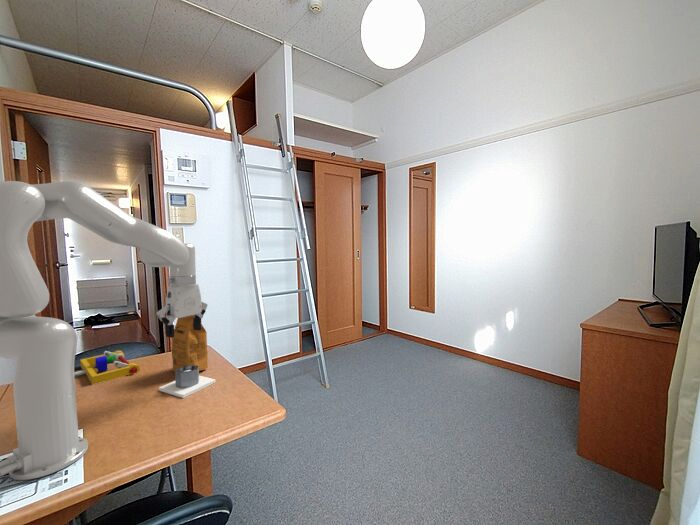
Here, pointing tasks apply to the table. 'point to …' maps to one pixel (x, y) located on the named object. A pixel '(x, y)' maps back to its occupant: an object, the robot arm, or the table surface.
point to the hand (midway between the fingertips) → (184, 333)
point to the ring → (187, 376)
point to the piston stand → (188, 391)
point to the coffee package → (189, 345)
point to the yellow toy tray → (100, 364)
